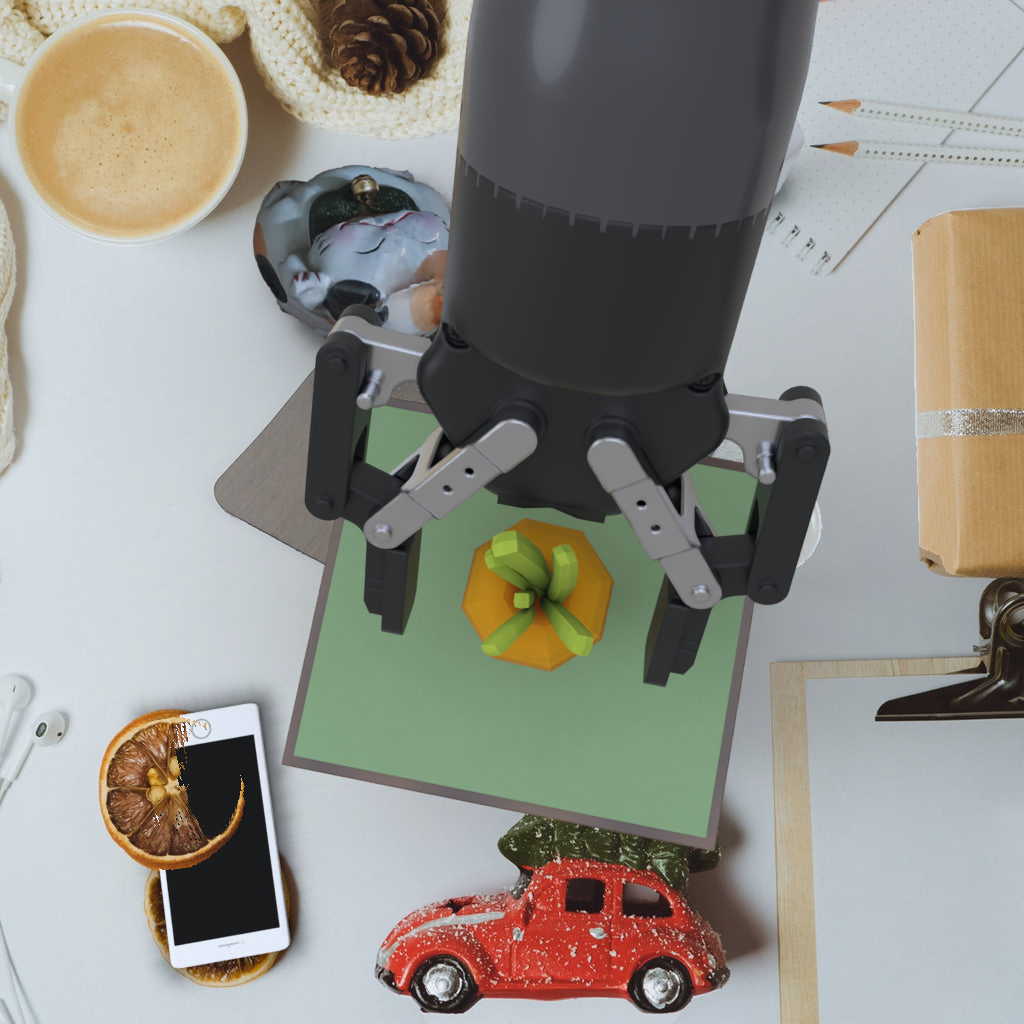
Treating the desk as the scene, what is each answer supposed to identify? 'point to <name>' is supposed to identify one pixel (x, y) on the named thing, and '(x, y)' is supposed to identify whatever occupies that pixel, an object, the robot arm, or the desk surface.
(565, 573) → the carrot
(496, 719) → the cloth
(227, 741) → the cell phone
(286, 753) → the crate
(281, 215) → the lucky cat figurine
